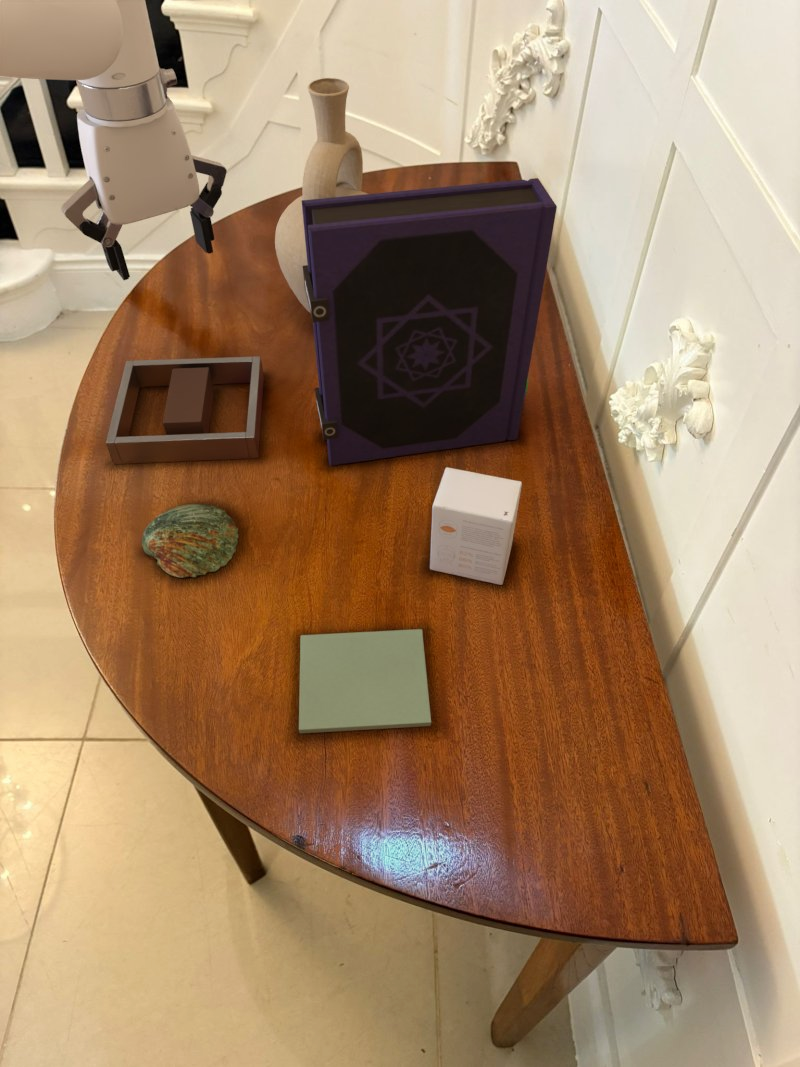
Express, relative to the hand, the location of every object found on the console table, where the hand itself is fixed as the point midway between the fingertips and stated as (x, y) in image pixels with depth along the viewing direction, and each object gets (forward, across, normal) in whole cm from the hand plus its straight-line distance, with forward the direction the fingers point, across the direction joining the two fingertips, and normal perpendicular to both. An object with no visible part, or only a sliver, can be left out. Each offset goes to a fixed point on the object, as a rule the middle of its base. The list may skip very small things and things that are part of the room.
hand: (164, 260), depth 85 cm
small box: (+19, -14, +41) cm, 47 cm away
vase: (+19, -25, -6) cm, 32 cm away
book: (+19, -19, +22) cm, 35 cm away
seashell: (+19, +11, +22) cm, 31 cm away
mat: (+19, +4, +47) cm, 51 cm away
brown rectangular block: (+19, +2, +4) cm, 20 cm away
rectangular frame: (+19, +2, +4) cm, 20 cm away
